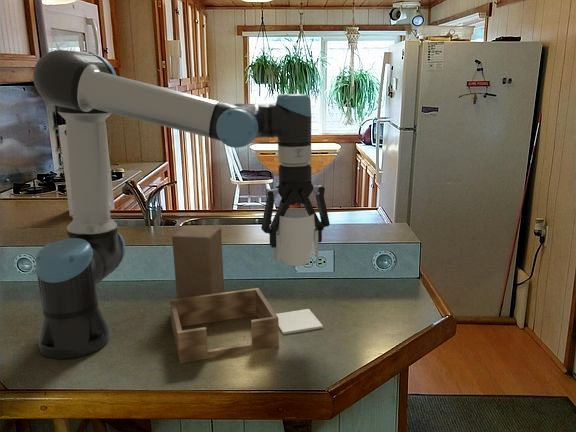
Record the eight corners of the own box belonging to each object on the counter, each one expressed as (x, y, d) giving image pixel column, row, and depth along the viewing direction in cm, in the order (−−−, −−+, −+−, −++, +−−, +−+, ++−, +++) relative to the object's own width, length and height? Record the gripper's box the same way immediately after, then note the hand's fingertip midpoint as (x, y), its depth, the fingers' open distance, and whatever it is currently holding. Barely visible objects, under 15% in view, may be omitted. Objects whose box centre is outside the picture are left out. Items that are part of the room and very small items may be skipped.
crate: (180, 363, 112) (177, 333, 110) (172, 326, 128) (169, 299, 126) (279, 346, 118) (278, 317, 116) (259, 313, 134) (258, 287, 133)
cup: (289, 253, 131) (288, 206, 128) (321, 258, 126) (321, 210, 123) (269, 263, 123) (268, 214, 120) (303, 270, 119) (302, 219, 116)
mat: (283, 334, 123) (283, 332, 123) (271, 316, 132) (271, 314, 132) (322, 328, 126) (322, 325, 126) (308, 310, 135) (308, 308, 135)
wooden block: (212, 311, 136) (208, 237, 131) (176, 308, 138) (171, 235, 133) (225, 295, 146) (221, 226, 140) (191, 293, 147) (186, 225, 142)
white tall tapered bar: (102, 204, 252) (93, 120, 242) (114, 209, 242) (105, 122, 231) (59, 211, 239) (48, 123, 229) (70, 217, 229) (59, 125, 219)
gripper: (252, 169, 112) (256, 268, 118) (345, 163, 118) (344, 257, 124) (244, 164, 119) (248, 257, 125) (332, 158, 125) (332, 247, 131)
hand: (296, 257), depth 125 cm, fingers closed on cup, 9 cm apart
